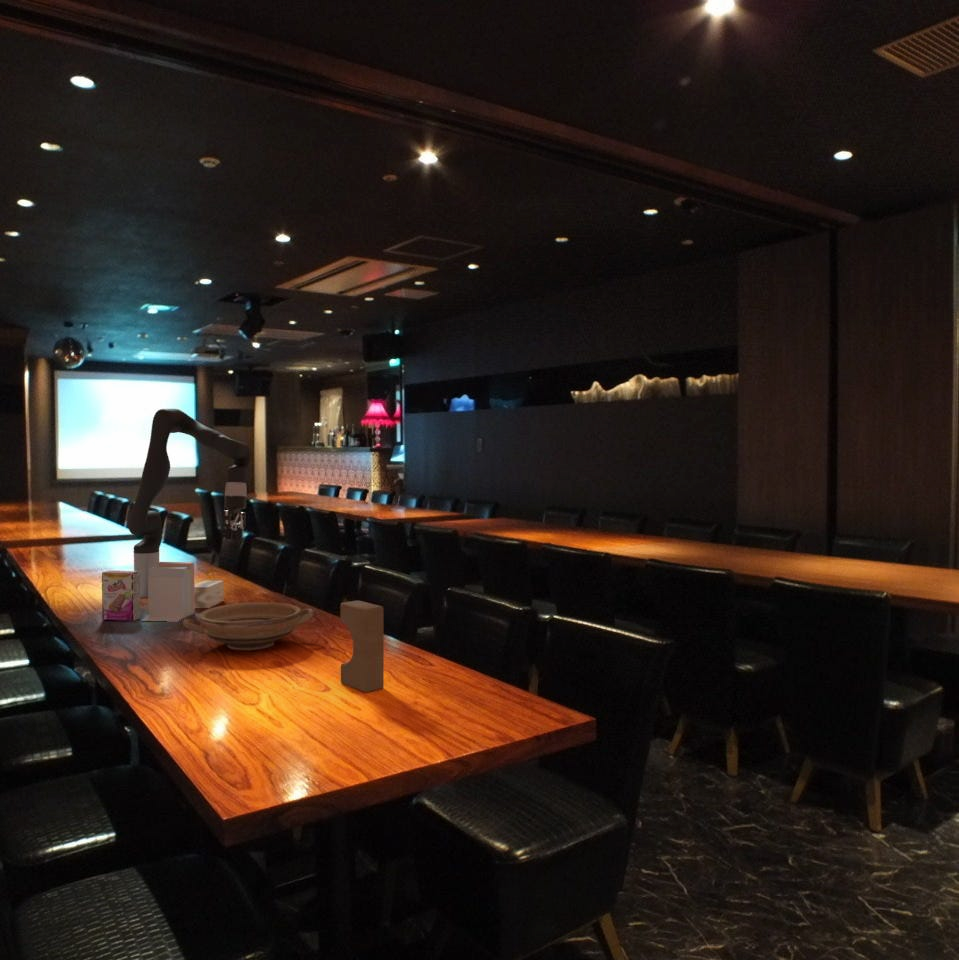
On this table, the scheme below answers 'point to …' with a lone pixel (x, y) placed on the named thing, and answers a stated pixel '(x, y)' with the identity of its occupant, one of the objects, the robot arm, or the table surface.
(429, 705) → the table surface
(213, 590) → the beige rectangular block
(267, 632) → the ceramic bowl
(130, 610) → the candy bar box
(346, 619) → the decorative block
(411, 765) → the table surface
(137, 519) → the robot arm
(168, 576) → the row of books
